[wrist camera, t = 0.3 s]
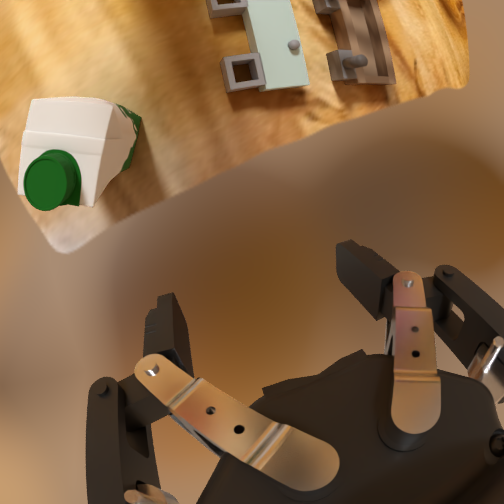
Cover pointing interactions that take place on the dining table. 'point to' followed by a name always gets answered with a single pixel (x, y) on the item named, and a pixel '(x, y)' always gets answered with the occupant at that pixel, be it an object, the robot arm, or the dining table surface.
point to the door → (265, 45)
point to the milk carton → (74, 150)
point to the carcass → (358, 42)
